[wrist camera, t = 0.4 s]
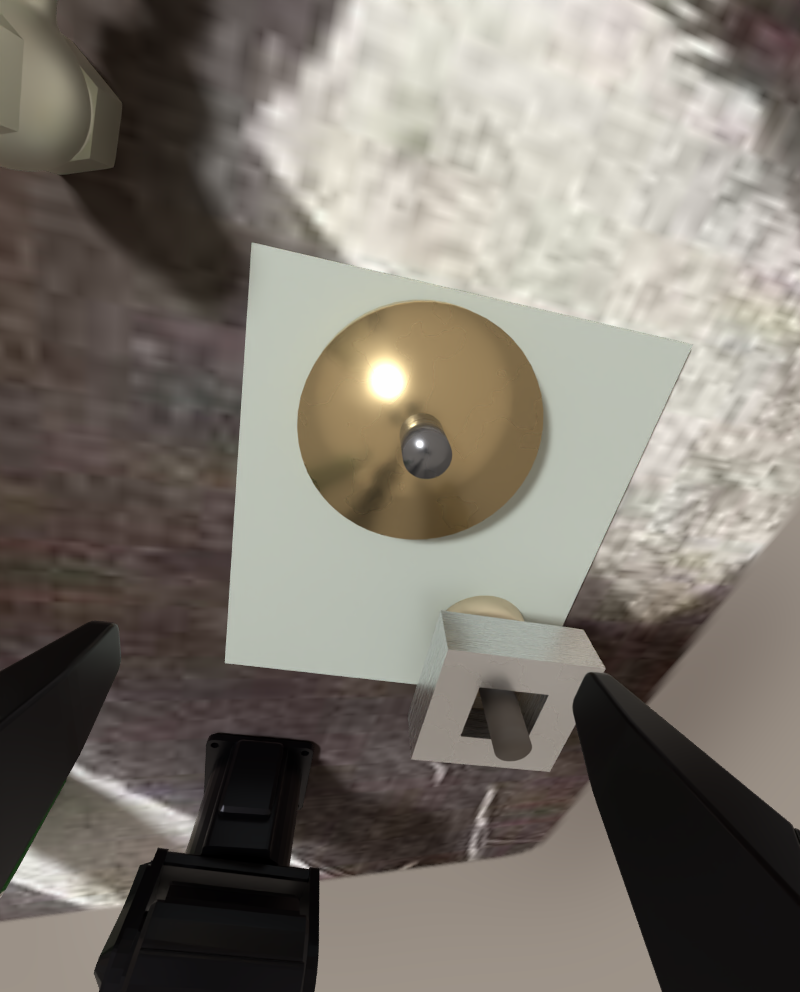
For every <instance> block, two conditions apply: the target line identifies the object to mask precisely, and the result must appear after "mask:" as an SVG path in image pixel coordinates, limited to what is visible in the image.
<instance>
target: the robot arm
mask: <svg viewBox="0 0 800 992" xmlns="http://www.w3.org/2000/svg"><path fill="white" fill-rule="evenodd" d="M120 662H121V651H120V638H119V629H118V626H117V624H115V623H113V622H103V621H91V622H88V623H86V624H84V625H82V626H81V627H79V628H77V629H75V630H73V631H72V632H70V633H68V634H66V635H65V636H63V637H61V638H59V639H57V640H56V641H54V642H52V643H50V644H48V645H47V646H45V647H43V648H41V649H39V650H38V651H36V652H34V653H32V654H31V655H29V656H27V657H25V658H23V659H22V660H20V661H18V662H16V663H14V664H13V665H11V666H9V667H7V668H6V669H4V670H2V671H0V892H1V890H2V888H3V886H4V885H5V883H6V881H7V880H8V878H9V876H10V874H11V873H12V871H13V869H14V868H15V866H16V864H17V862H18V861H19V859H20V857H21V856H22V854H23V852H24V850H25V849H26V847H27V845H28V843H29V842H30V840H31V838H32V837H33V835H34V833H35V831H36V830H37V828H38V826H39V825H40V823H41V821H42V819H43V818H44V816H45V814H46V813H47V811H48V809H49V807H50V806H51V804H52V802H53V801H54V799H55V797H56V795H57V794H58V792H59V790H60V789H61V787H62V785H63V783H64V782H65V780H66V778H67V777H68V775H69V773H70V771H71V770H72V768H73V766H74V764H75V762H76V761H77V759H78V757H79V755H80V753H81V751H82V749H83V747H84V745H85V743H86V740H87V738H88V736H89V734H90V732H91V729H92V727H93V725H94V723H95V721H96V718H97V716H98V714H99V712H100V710H101V707H102V705H103V703H104V701H105V699H106V696H107V694H108V692H109V690H110V687H111V685H112V683H113V681H114V679H115V676H116V674H117V672H118V669H119V666H120ZM572 709H573V715H574V719H575V723H576V727H577V731H578V735H579V740H580V744H581V748H582V752H583V756H584V760H585V764H586V768H587V772H588V776H589V780H590V783H591V787H592V791H593V794H594V797H595V800H596V803H597V806H598V809H599V811H600V814H601V817H602V820H603V823H604V826H605V829H606V832H607V835H608V838H609V840H610V843H611V846H612V849H613V852H614V855H615V857H616V861H617V864H618V866H619V869H620V872H621V875H622V878H623V881H624V884H625V887H626V890H627V892H628V895H629V898H630V901H631V904H632V907H633V910H634V912H635V915H636V918H637V921H638V924H639V927H640V930H641V933H642V936H643V938H644V941H645V944H646V947H647V950H648V953H649V956H650V958H651V961H652V964H653V967H654V970H655V973H656V976H657V979H658V982H659V984H660V988H661V990H662V992H800V830H798V829H796V828H795V829H794V828H793V825H792V824H791V823H790V822H789V821H787V820H786V819H785V818H784V817H782V816H781V815H780V814H779V813H777V812H776V811H775V810H774V809H773V808H772V807H770V806H769V805H768V804H767V803H765V802H764V801H763V800H762V799H761V798H759V797H758V796H757V795H756V794H754V793H753V792H752V791H751V790H750V789H748V788H747V787H746V786H745V785H743V784H742V783H741V782H740V781H739V780H737V779H736V778H735V777H734V776H733V775H731V774H730V773H729V772H728V771H726V770H725V769H724V768H722V766H720V765H719V764H718V763H717V762H716V761H714V760H713V759H712V758H710V757H709V756H708V755H707V754H706V753H705V752H703V751H702V750H701V749H700V748H698V747H697V746H696V745H695V744H694V743H692V742H691V741H690V740H689V739H687V738H686V737H685V736H684V735H683V734H681V733H680V732H679V731H678V730H677V729H675V728H674V727H673V726H672V725H670V724H669V723H668V722H667V721H666V720H664V719H663V718H662V717H661V716H659V715H658V714H657V713H656V712H654V711H653V710H652V709H651V708H650V707H649V706H647V705H646V704H645V703H644V702H642V701H641V700H640V699H639V698H638V697H636V696H635V695H634V694H633V693H631V692H630V691H629V690H628V689H627V688H625V687H624V686H623V685H622V684H621V683H619V682H618V681H617V680H616V679H614V678H613V677H612V676H611V675H609V674H607V673H600V672H588V673H587V674H585V676H584V678H583V680H582V682H581V684H580V686H579V689H578V691H577V693H576V695H575V697H574V699H573V705H572ZM313 750H314V747H313V745H312V744H311V743H308V742H298V741H287V740H277V739H266V738H255V737H244V736H233V735H222V734H213V735H211V736H209V738H208V741H207V744H206V762H205V785H204V797H203V800H202V803H201V806H200V809H199V812H198V815H197V818H196V822H195V825H194V828H193V831H192V834H191V837H190V840H189V843H188V846H187V850H186V853H177V852H169V851H168V850H169V849H163V848H158V849H157V852H156V854H155V857H154V859H153V861H152V860H151V862H149V863H146V864H143V865H140V867H139V869H138V872H137V875H136V877H135V880H134V882H133V885H132V887H131V890H130V892H129V895H128V897H127V900H126V902H125V905H124V907H123V909H122V911H121V913H120V915H119V917H118V919H117V922H116V924H115V926H114V928H113V930H112V932H111V934H110V936H109V938H108V940H107V942H106V944H105V946H104V949H103V950H102V953H101V955H100V957H99V959H98V962H97V964H96V967H95V970H94V975H95V978H96V981H97V984H98V987H99V992H314V991H315V984H316V976H317V966H318V952H319V868H312V867H310V868H309V869H304V868H296V867H289V866H290V859H291V852H292V844H293V837H294V830H295V823H296V816H297V810H299V809H301V808H302V807H303V802H304V797H305V792H306V787H307V782H308V777H309V772H310V766H311V761H312V756H313Z"/></svg>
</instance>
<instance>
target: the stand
mask: <svg viewBox="0 0 800 992" xmlns="http://www.w3.org/2000/svg"><path fill="white" fill-rule="evenodd" d="M446 611H450V612H457V613H465V614H472V615H480V616H487V617H494V618H502V619H509V620H517V621H524V619H523V617H522V614H521V613H520V611H519V610H518V609H517V607H516V606H514V605H513V604H512V603H510V602H509V601H507V600H505V599H502V598H499V597H495V596H474V597H470V598H466V599H464V600H461V601H459V602H457V603H455V604H454V605H452V606H451V607H449V608H448V609H447V610H446ZM524 622H525V621H524ZM515 693H516V691H509V690H500V689H491V688H482V687H480V688H479V690H478V693H477V695H476V696H480V697H481V701H482V705H483V709H484V713H485V717H486V721H487V725H488V729H489V733H490V737H491V741H492V745H493V749H494V753H495V756H496V757H497V758H499V759H500V760H503V761H517V760H520V759H523V758H524V757H526V756H527V755H528V754H529V753H530V752H531V750H532V744H531V741H530V738H529V734H528V731H527V728H526V725H525V722H524V719H523V716H522V713H521V710H520V707H519V704H518V701H517V698H516V695H515Z"/></svg>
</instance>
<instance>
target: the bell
mask: <svg viewBox="0 0 800 992" xmlns="http://www.w3.org/2000/svg"><path fill="white" fill-rule="evenodd" d="M542 431H543V403H542V395H541V391H540V388H539V384H538V380H537V378H536V375H535V373H534V371H533V368H532V366H531V364H530V362H529V361H528V359H527V357H526V356H525V354H524V352H523V351H522V350H521V349H520V347H519V346H518V345H517V344H516V343H515V341H514V340H513V339H512V338H511V337H510V336H509V335H508V334H507V333H506V332H504V331H503V330H502V329H501V328H500V327H499V326H497V325H496V324H494V323H493V322H491V321H490V320H488V319H487V318H485V317H483V316H481V315H479V314H476V313H474V312H472V311H470V310H468V309H466V308H464V307H461V306H458V305H454V304H451V303H448V302H442V301H436V300H406V301H399V302H394V303H391V304H387V305H383V306H380V307H378V308H376V309H373V310H371V311H369V312H367V313H365V314H363V315H361V316H360V317H358V318H356V319H355V320H353V321H352V322H350V323H349V324H348V325H347V326H345V327H344V328H343V329H342V330H341V331H339V332H338V333H337V334H336V335H335V336H334V338H333V339H332V340H331V341H330V342H329V343H328V344H327V345H326V347H325V348H324V350H323V351H322V353H321V354H320V356H319V357H318V359H317V360H316V362H315V364H314V365H313V367H312V369H311V371H310V373H309V375H308V377H307V379H306V382H305V385H304V388H303V391H302V394H301V397H300V403H299V408H298V418H297V433H298V443H299V448H300V452H301V456H302V460H303V462H304V465H305V468H306V470H307V473H308V474H309V476H310V478H311V480H312V482H313V484H314V485H315V487H316V488H317V490H318V491H319V492H320V494H321V495H322V497H323V498H324V499H325V500H326V501H327V502H328V503H329V504H330V505H331V506H332V507H333V508H334V509H335V510H336V511H338V512H339V513H340V514H341V515H342V516H344V517H345V518H347V519H348V520H350V521H351V522H353V523H355V524H356V525H358V526H360V527H362V528H365V529H367V530H369V531H372V532H375V533H377V534H380V535H384V536H389V537H393V538H400V539H410V540H416V539H432V538H439V537H444V536H448V535H452V534H455V533H458V532H461V531H463V530H466V529H468V528H470V527H472V526H474V525H476V524H478V523H480V522H482V521H483V520H485V519H486V518H488V517H490V516H491V515H493V514H494V513H495V512H496V511H497V510H499V509H500V508H501V507H502V506H504V505H505V504H506V503H507V501H508V500H509V499H510V498H511V497H512V496H513V495H514V494H515V493H516V491H517V490H518V489H519V488H520V486H521V485H522V484H523V482H524V480H525V479H526V477H527V475H528V474H529V472H530V470H531V468H532V466H533V463H534V461H535V459H536V456H537V453H538V450H539V446H540V443H541V437H542Z"/></svg>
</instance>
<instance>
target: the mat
mask: <svg viewBox="0 0 800 992" xmlns="http://www.w3.org/2000/svg"><path fill="white" fill-rule="evenodd" d="M406 300H436V301H442V302H448V303H451V304H454V305H458V306H461V307H464V308H466V309H468V310H470V311H472V312H474V313H476V314H479V315H481V316H483V317H485V318H487V319H488V320H490V321H491V322H493V323H494V324H496V325H497V326H499V327H500V328H501V329H502V330H503V331H504V332H506V333H507V334H508V335H509V336H510V337H511V338H512V339H513V340H514V341H515V343H516V344H517V345H518V346H519V347H520V349H521V350H522V351H523V352H524V354H525V356H526V357H527V359H528V361H529V362H530V364H531V366H532V368H533V371H534V373H535V375H536V378H537V380H538V384H539V388H540V391H541V395H542V403H543V431H542V437H541V443H540V446H539V450H538V453H537V456H536V459H535V461H534V463H533V466H532V468H531V470H530V472H529V474H528V475H527V477H526V479H525V480H524V482H523V484H522V485H521V486H520V488H519V489H518V490H517V491H516V493H515V494H514V495H513V496H512V497H511V498H510V499H509V500H508V501H507V503H506V504H505V505H504V506H502V507H501V508H500V509H499V510H497V511H496V512H495V513H494V514H493V515H491V516H490V517H488V518H486V519H485V520H483V521H482V522H480V523H478V524H476V525H474V526H472V527H470V528H468V529H466V530H463V531H461V532H458V533H455V534H452V535H448V536H444V537H439V538H432V539H416V540H410V539H400V538H393V537H389V536H384V535H380V534H377V533H375V532H372V531H369V530H367V529H365V528H362V527H360V526H358V525H356V524H355V523H353V522H351V521H350V520H348V519H347V518H345V517H344V516H342V515H341V514H340V513H339V512H338V511H336V510H335V509H334V508H333V507H332V506H331V505H330V504H329V503H328V502H327V501H326V500H325V499H324V498H323V497H322V495H321V494H320V492H319V491H318V490H317V488H316V487H315V485H314V484H313V482H312V480H311V478H310V476H309V474H308V473H307V470H306V468H305V465H304V462H303V460H302V456H301V452H300V448H299V443H298V433H297V418H298V408H299V403H300V397H301V394H302V391H303V388H304V385H305V382H306V379H307V377H308V375H309V373H310V371H311V369H312V367H313V365H314V364H315V362H316V360H317V359H318V357H319V356H320V354H321V353H322V351H323V350H324V348H325V347H326V345H327V344H328V343H329V342H330V341H331V340H332V339H333V338H334V336H335V335H336V334H337V333H338V332H339V331H341V330H342V329H343V328H344V327H345V326H347V325H348V324H349V323H350V322H352V321H353V320H355V319H356V318H358V317H360V316H361V315H363V314H365V313H367V312H369V311H371V310H373V309H376V308H378V307H380V306H383V305H387V304H391V303H394V302H399V301H406ZM692 346H693V345H692V344H688V343H684V342H679V341H675V340H671V339H666V338H662V337H658V336H653V335H649V334H645V333H640V332H636V331H632V330H628V329H623V328H619V327H615V326H610V325H606V324H602V323H597V322H593V321H589V320H584V319H580V318H576V317H571V316H567V315H563V314H559V313H554V312H550V311H546V310H541V309H537V308H533V307H528V306H524V305H520V304H515V303H511V302H507V301H502V300H498V299H494V298H490V297H485V296H481V295H477V294H472V293H468V292H464V291H459V290H455V289H451V288H446V287H442V286H438V285H434V284H429V283H425V282H421V281H416V280H412V279H408V278H403V277H399V276H395V275H390V274H386V273H382V272H377V271H373V270H369V269H365V268H360V267H356V266H352V265H347V264H343V263H339V262H334V261H330V260H326V259H321V258H317V257H313V256H308V255H304V254H300V253H296V252H291V251H287V250H283V249H278V248H274V247H270V246H265V245H261V244H257V243H252V246H251V262H250V278H249V293H248V309H247V325H246V341H245V356H244V372H243V388H242V403H241V419H240V435H239V451H238V466H237V482H236V498H235V513H234V529H233V545H232V560H231V576H230V592H229V608H228V623H227V639H226V655H225V663H230V664H239V665H248V666H257V667H265V668H274V669H283V670H292V671H301V672H310V673H319V674H328V675H337V676H346V677H355V678H364V679H373V680H382V681H391V682H400V683H409V684H418V681H419V678H420V675H421V672H422V668H423V665H424V662H425V659H426V656H427V652H428V649H429V646H430V643H431V640H432V636H433V633H434V630H435V627H436V624H437V620H438V617H439V614H440V611H441V610H442V611H446V610H447V609H448V608H449V607H451V606H452V605H454V604H455V603H457V602H459V601H461V600H464V599H466V598H470V597H474V596H495V597H499V598H502V599H505V600H507V601H509V602H510V603H512V604H513V605H514V606H516V607H517V609H518V610H519V611H520V613H521V614H522V617H523V619H524V621H525V622H531V623H539V624H546V625H554V626H561V627H562V626H563V624H564V622H565V619H566V617H567V615H568V613H569V611H570V609H571V606H572V604H573V602H574V600H575V598H576V596H577V594H578V591H579V589H580V587H581V585H582V583H583V581H584V578H585V576H586V574H587V572H588V570H589V568H590V566H591V563H592V561H593V559H594V557H595V555H596V553H597V550H598V548H599V546H600V544H601V542H602V540H603V538H604V535H605V533H606V531H607V529H608V527H609V525H610V522H611V520H612V518H613V516H614V514H615V512H616V510H617V507H618V505H619V503H620V501H621V499H622V497H623V494H624V492H625V490H626V488H627V486H628V484H629V481H630V479H631V477H632V475H633V473H634V471H635V469H636V466H637V464H638V462H639V460H640V458H641V456H642V453H643V451H644V449H645V447H646V445H647V443H648V441H649V438H650V436H651V434H652V432H653V430H654V428H655V425H656V423H657V421H658V419H659V417H660V415H661V413H662V410H663V408H664V406H665V404H666V402H667V400H668V397H669V395H670V393H671V391H672V389H673V387H674V385H675V382H676V380H677V378H678V376H679V374H680V372H681V369H682V367H683V365H684V363H685V361H686V359H687V357H688V354H689V352H690V350H691V348H692Z"/></svg>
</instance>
